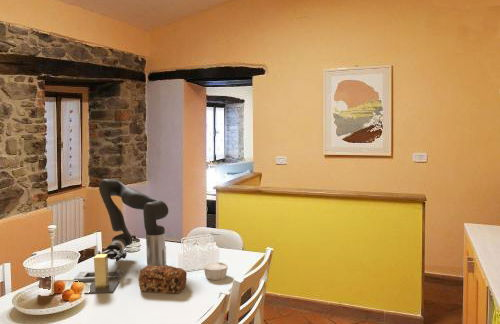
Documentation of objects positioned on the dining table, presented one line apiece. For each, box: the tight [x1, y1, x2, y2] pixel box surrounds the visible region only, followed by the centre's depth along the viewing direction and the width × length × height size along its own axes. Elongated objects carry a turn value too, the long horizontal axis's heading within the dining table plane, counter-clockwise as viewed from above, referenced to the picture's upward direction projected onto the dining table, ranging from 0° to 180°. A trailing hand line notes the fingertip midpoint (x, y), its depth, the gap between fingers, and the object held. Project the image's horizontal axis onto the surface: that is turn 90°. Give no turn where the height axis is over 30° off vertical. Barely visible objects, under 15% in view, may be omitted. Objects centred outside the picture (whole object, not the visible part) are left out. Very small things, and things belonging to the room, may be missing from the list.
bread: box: [138, 265, 187, 295], centre depth 189 cm, size 19×11×10 cm, turn 79°
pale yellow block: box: [93, 254, 110, 289], centre depth 190 cm, size 5×5×14 cm
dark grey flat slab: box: [73, 270, 124, 283], centre depth 203 cm, size 20×9×2 cm, turn 94°
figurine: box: [37, 275, 56, 290], centre depth 185 cm, size 7×7×12 cm
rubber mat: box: [88, 280, 120, 295], centre depth 191 cm, size 12×12×1 cm
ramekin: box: [203, 261, 229, 281], centre depth 203 cm, size 11×11×5 cm
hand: (107, 259), depth 199 cm, fingers open, 8 cm apart
